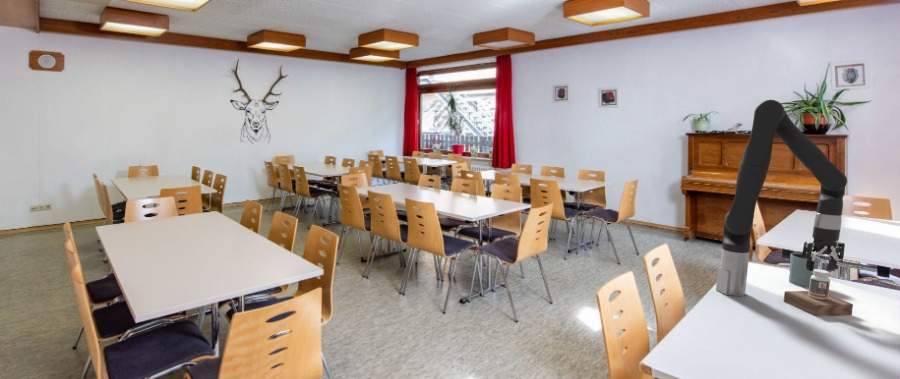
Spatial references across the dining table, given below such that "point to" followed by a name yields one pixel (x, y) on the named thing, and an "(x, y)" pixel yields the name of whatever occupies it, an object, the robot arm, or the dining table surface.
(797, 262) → the green plant pot
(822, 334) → the dining table surface
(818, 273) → the pill bottle
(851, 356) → the dining table surface
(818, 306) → the walnut base
